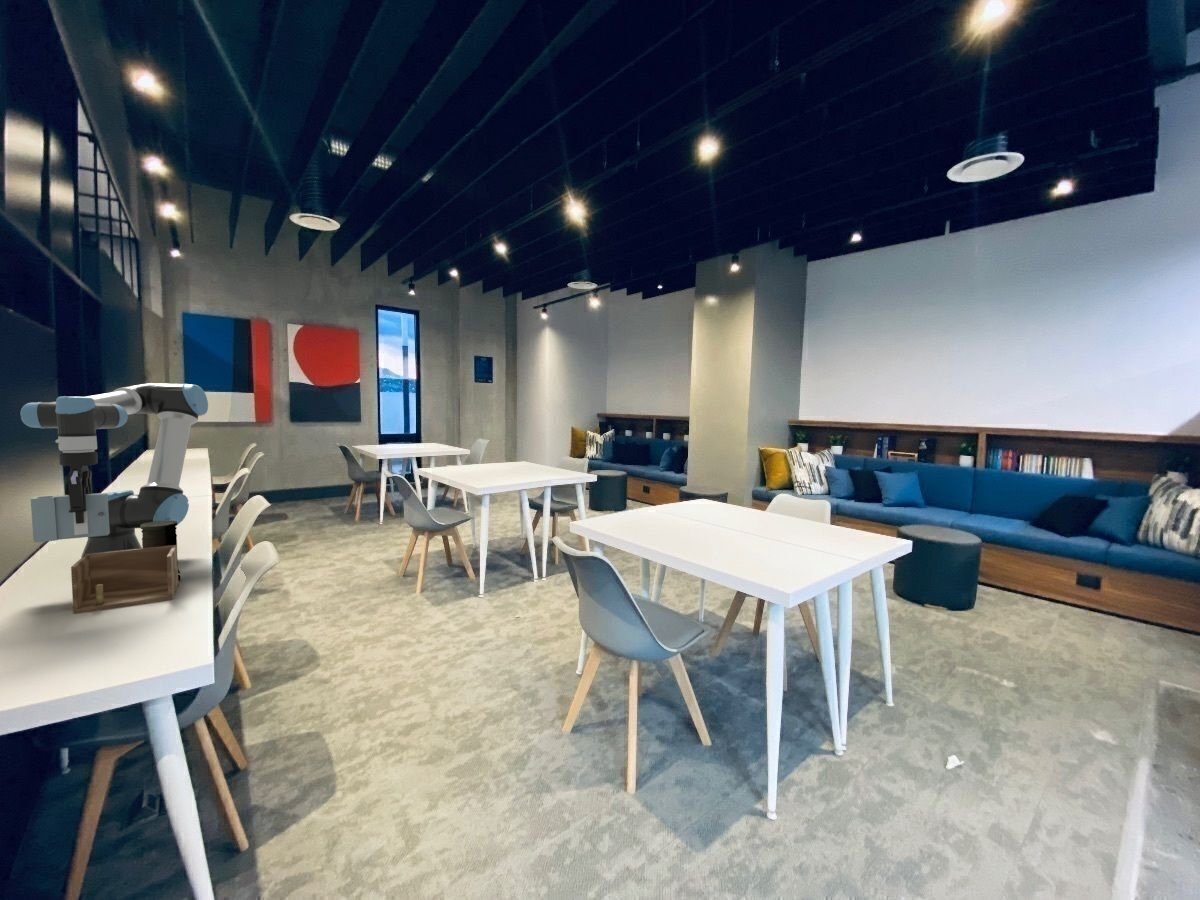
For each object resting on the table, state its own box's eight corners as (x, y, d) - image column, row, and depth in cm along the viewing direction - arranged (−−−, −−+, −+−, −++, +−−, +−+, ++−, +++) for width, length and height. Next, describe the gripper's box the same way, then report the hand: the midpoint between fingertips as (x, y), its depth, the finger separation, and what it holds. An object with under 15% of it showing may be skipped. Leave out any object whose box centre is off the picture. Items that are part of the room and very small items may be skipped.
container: (135, 583, 148) (132, 524, 147) (172, 575, 156) (170, 518, 155) (149, 589, 144) (146, 527, 143) (186, 580, 152) (184, 522, 150)
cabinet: (88, 596, 137) (86, 553, 136) (178, 584, 148) (177, 544, 147) (73, 613, 126) (71, 567, 125) (172, 599, 136) (170, 556, 136)
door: (39, 538, 139) (36, 496, 138) (110, 532, 148) (108, 492, 147) (33, 542, 136) (30, 499, 135) (106, 535, 144) (104, 494, 143)
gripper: (67, 449, 145) (72, 528, 147) (49, 454, 132) (55, 540, 134) (103, 448, 149) (108, 525, 151) (89, 453, 136) (94, 537, 138)
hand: (83, 532), depth 143 cm, fingers closed on door, 3 cm apart
